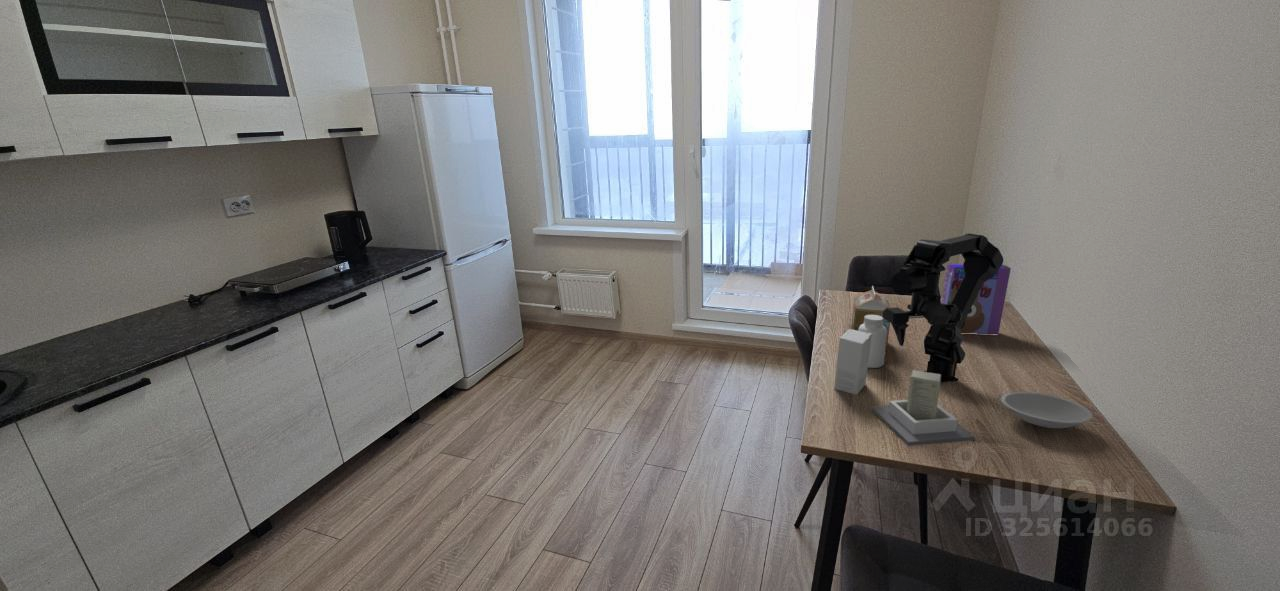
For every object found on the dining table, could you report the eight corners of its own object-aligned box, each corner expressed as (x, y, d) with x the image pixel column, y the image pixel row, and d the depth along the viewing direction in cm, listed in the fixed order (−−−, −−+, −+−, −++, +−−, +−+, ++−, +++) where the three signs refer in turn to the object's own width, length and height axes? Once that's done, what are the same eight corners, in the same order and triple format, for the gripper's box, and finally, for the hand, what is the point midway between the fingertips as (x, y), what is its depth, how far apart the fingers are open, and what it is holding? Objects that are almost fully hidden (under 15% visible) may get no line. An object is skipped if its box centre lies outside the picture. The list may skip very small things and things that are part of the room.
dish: (1008, 435, 121) (1012, 416, 120) (989, 405, 134) (993, 388, 133) (1100, 447, 116) (1106, 427, 114) (1071, 415, 129) (1076, 396, 127)
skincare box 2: (935, 420, 126) (942, 374, 123) (933, 428, 123) (941, 381, 119) (906, 413, 130) (912, 368, 126) (904, 421, 126) (910, 375, 122)
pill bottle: (857, 356, 165) (862, 311, 161) (885, 361, 162) (890, 315, 157) (853, 365, 159) (857, 319, 155) (881, 370, 155) (887, 323, 151)
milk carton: (850, 337, 181) (855, 284, 175) (883, 340, 177) (889, 286, 172) (851, 349, 171) (856, 293, 166) (886, 352, 168) (893, 296, 162)
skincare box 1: (843, 378, 151) (848, 328, 146) (867, 384, 147) (873, 333, 142) (833, 389, 145) (838, 337, 140) (857, 396, 141) (863, 342, 136)
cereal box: (942, 333, 182) (953, 266, 175) (937, 329, 186) (947, 263, 179) (997, 336, 179) (1010, 267, 171) (991, 331, 183) (1003, 264, 176)
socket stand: (930, 406, 135) (932, 392, 134) (974, 440, 119) (977, 425, 118) (871, 410, 133) (872, 396, 132) (908, 445, 118) (910, 430, 117)
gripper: (909, 299, 127) (901, 358, 132) (981, 295, 129) (971, 354, 134) (884, 287, 138) (878, 342, 143) (951, 283, 140) (942, 338, 144)
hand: (917, 344), depth 140 cm, fingers open, 9 cm apart
